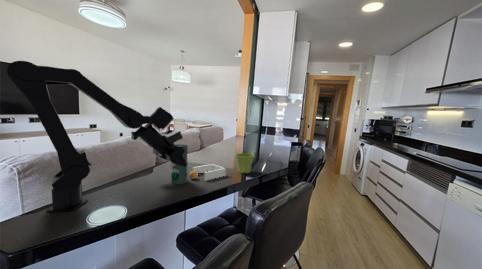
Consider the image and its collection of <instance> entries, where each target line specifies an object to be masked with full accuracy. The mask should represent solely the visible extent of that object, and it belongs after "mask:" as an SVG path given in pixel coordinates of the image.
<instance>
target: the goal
mask: <svg viewBox="0 0 482 269" xmlns="http://www.w3.org/2000/svg"><path fill="white" fill-rule="evenodd" d="M192 171H196V172H197V173H203V172H204V173H203V174H204V176H203V181H205V182H207V181H211V180H214V179H215V178H216V179H219V177H220V178H223V176H224V177H226V176H227V168H225V167H223V166H221V165H217V164H214V163H210V164H204V165H200V166H199V165H198V166H193V167H192ZM207 171H208V172H207ZM216 179H215V180H216Z"/></svg>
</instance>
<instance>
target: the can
mask: <svg viewBox="0 0 482 269" xmlns="http://www.w3.org/2000/svg"><path fill="white" fill-rule="evenodd" d="M174 146H181V147H183V148H184V149H185V152H184V153H183V154H182V156H183V158H184V160H185V162H186V163H187V164H188V144H179V143H178V144H174V145H173V146H172V148H173V147H174ZM170 163H171V162H170ZM170 170H171V171H170V173H171V175H170V176H171V177H170V181H171V184H172V185H182V184H186V183H187V182H188V165H187V166H186V167H184V166H181V165H178V164H174V163H171V164H170Z"/></svg>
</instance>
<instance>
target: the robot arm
mask: <svg viewBox="0 0 482 269" xmlns="http://www.w3.org/2000/svg"><path fill="white" fill-rule="evenodd" d="M5 70H6V72H5V73H6V75H7V76H8V77H9V79H10V80H11V81H12V83H13V84H14V85H15V86H16V87H17V89H18V90H19V91H20V92H21V93H22V94H23V96H24V97H25V98H26V99H27V100H28V102H30V104H31V107H32V108H33V109H34V112H35V114H36V116H37V117H38V119H39V120H40V123H41V126H42V127H43V129H44V131H45V132H46V134H47V135H48V136H47V137H48V138H49V139H50V142H51V144H52V145H53V147H54V149H55V150H56V154H57V158H58V162H59V167H60V170H59V171H58V172H57V173H56V174H55V175H54V176H53V177H52V182H51V187H52V188H51V203H52V206H51V207H49V208H47V209H46V211H45V212H46V213H50V212H51V213H53V212H71V211H72V212H73V211H74V210H76V209H78V208H79V207H81V206H82V205H84V204H86V203H87V202H88V201H89V199H88V198H86V199H85V198H84V199H83V186H82V181H83V180H84V179H86V178H87V177H88V176H89V174H90V172H91V168H90V166H92V163H91V161H90V160H89V159H88V158H87V153H86V151H85V149H81V150H80V151H78V149H77V147H75V145H73V142H72V140H71V139H70V136H69V134H68V133H67V130H66V127H64V124H63V122H62V120H61V118H60V116H59V115H58V112H57V110H56V108H55V107H54V104H53V103H52V100H51V96H50V93H49V89H48V86H72V87H73V88H75V89H76V90H78V91H80V92H81V93H82V94H84V95H85V96H86V97H89V99H91V100H93V101H94V102H95V103H96V104H98V105H99V106H101V107H103V108H104V109H105V110H106V111H108V112H109V113H110V114H112V115H113V116H114V117H115V119H116V120H117V121H118V122H119V123H120V124H122V125H123V127H125V128H128V129H133V130H134V129H136V131H131V132H130V134H131V140H133V141H136V140H137V139H138V138H139V139H140V140H142V141H143V142H144V143H145V144H146V145H148V147H149V148H151V149H152V153H153V154H154V155H155V156H157V157H159V158H161V159H162V160H166V161H169V163H174V164H178V165H181V166H184V167H186V166H187V167H188V162H187V163H186V162H185V160H184V158H183V156H182V154H183V153H184V152H185V149H184V148H183V147H181V146H174V147H173V148H172V146H173V145H175V143H176V142H177V141H180V140H182V139H183V138H184V137H183V134H182V133H181V131H180V130H177V129H176V130H175V129H174V130H172V129H167V130H166V131H165V135H163V134H161V133H160V132H159V131H160V130H163V131H164V130H165V129H166V128H167V126H169V125H170V124H171V123H172V121H174V119H175V118H174V116H173V115H172V114H171V112H168V111H167V110H166V109H164V108H163V107H162V106H158V107H157V108H156V109H155V111H153V113H151V114H150V115H143V114H142V113H141V112H139V111H137V110H135V108H134V109H133V108H132V107H130V106H127V105H125V104H123V103H121V102H120V101H119V100H117V99H115V98H114V97H113V96H111V95H110V94H109V93H107V92H106V91H104V89H102V88H100V87H99V86H98V85H96V84H95V83H94V82H93V81H92V80H90V79H88V78H87V77H86V76H85V75H84V74H82V73H81V72H80V71H79V70H77V69H74V68H60V67H54V66H47V65H46V66H45V65H37V64H34V63H33V62H30V61H26V60H16V61H12V62H11V63H9V64H8V66H7V67H6V69H5ZM143 125H144V126H143Z"/></svg>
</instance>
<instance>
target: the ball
mask: <svg viewBox="0 0 482 269" xmlns="http://www.w3.org/2000/svg"><path fill="white" fill-rule="evenodd" d="M198 175H199V174H198V173H197V172H196V171H193V170H192V171H189V175H188V176H189V178H190V179H192V180H196V179H197V178H198Z"/></svg>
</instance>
